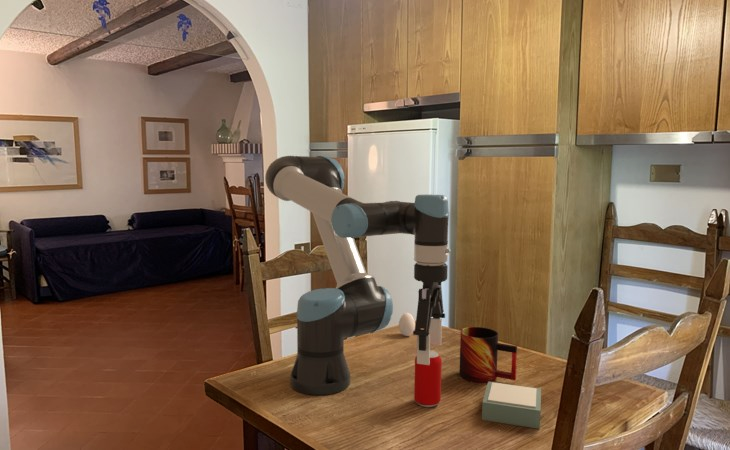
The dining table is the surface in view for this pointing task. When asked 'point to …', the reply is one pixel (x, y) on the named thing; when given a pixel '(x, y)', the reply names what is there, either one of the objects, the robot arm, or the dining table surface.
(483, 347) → the mug
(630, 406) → the dining table surface
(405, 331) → the egg
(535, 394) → the base
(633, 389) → the dining table surface
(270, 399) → the dining table surface
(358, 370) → the dining table surface
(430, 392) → the beverage can
